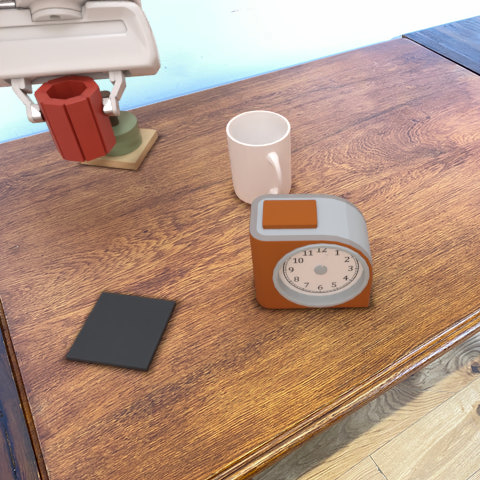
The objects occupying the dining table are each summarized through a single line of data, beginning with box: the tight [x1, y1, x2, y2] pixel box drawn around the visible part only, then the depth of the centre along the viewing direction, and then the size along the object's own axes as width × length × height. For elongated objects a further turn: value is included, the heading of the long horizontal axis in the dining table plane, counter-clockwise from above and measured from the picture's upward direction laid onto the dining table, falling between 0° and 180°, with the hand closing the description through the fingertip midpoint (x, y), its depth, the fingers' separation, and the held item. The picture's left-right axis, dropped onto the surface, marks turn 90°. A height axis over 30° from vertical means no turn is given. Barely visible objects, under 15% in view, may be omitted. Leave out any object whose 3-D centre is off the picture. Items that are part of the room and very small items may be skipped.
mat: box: [65, 291, 177, 372], centre depth 64 cm, size 10×10×1 cm
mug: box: [225, 110, 293, 205], centre depth 79 cm, size 10×12×12 cm
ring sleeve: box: [33, 75, 116, 163], centre depth 59 cm, size 6×6×8 cm
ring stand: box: [79, 89, 159, 171], centre depth 86 cm, size 10×10×11 cm
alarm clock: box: [248, 193, 374, 310], centre depth 65 cm, size 15×8×14 cm, turn 92°
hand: (75, 118), depth 59 cm, fingers closed on ring sleeve, 7 cm apart
